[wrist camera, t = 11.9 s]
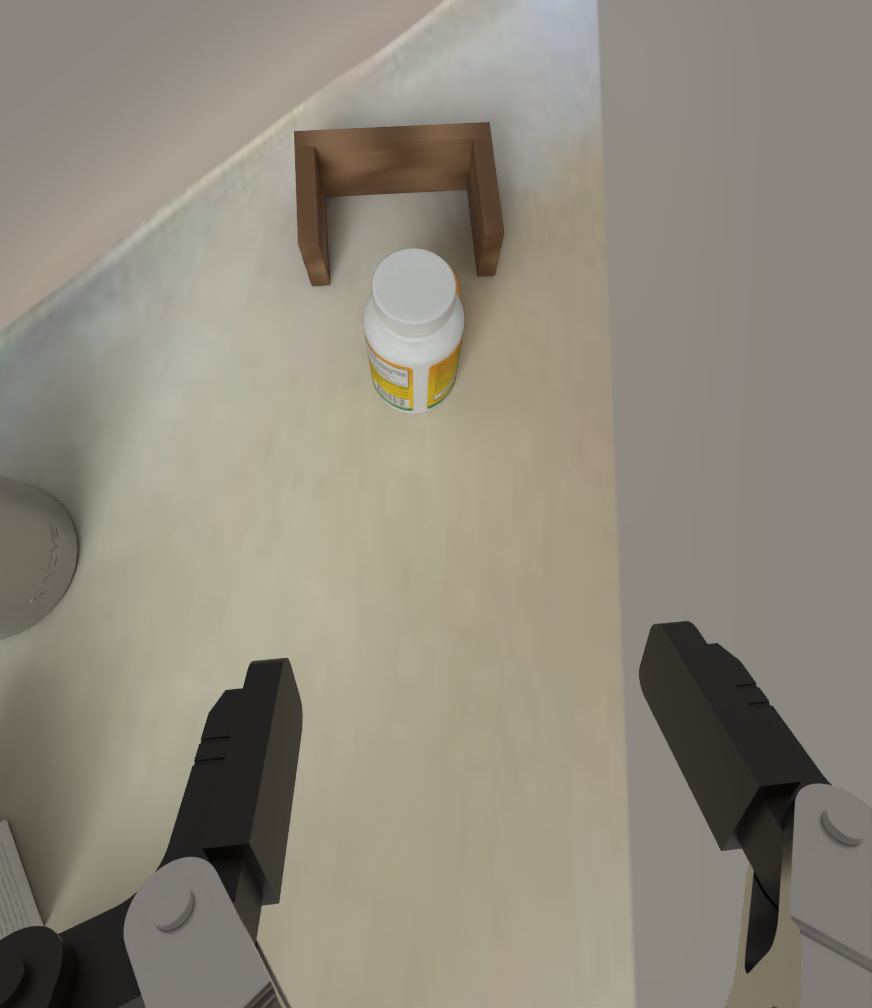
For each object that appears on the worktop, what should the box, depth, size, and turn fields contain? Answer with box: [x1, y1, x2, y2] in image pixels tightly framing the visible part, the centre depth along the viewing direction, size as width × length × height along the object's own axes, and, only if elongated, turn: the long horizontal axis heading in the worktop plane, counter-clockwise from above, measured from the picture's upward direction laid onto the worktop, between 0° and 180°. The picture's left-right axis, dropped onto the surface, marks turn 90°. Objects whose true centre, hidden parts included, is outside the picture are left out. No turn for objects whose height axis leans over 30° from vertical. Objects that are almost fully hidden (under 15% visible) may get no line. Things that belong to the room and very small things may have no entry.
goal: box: [294, 122, 504, 286], centre depth 34 cm, size 12×8×4 cm, turn 95°
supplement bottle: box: [363, 248, 465, 414], centre depth 29 cm, size 5×5×10 cm
